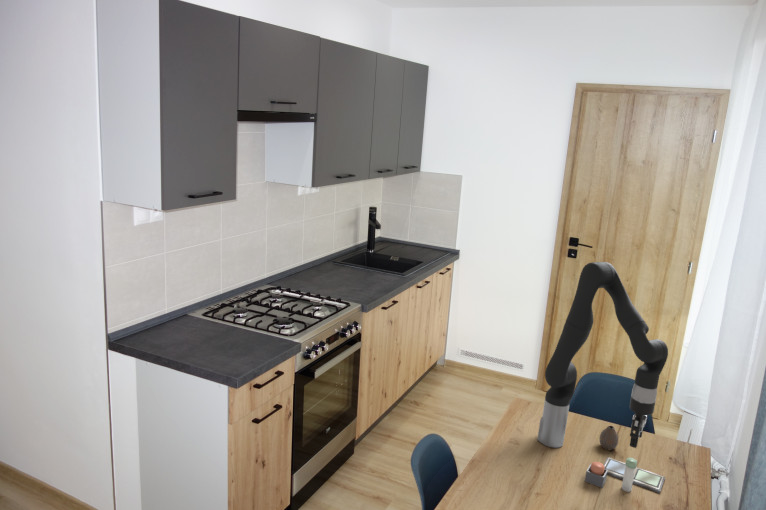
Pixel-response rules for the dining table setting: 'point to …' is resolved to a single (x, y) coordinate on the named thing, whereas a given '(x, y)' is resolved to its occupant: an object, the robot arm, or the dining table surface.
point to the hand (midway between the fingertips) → (635, 441)
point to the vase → (609, 438)
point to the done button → (597, 468)
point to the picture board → (635, 475)
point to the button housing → (595, 477)
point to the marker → (629, 474)
